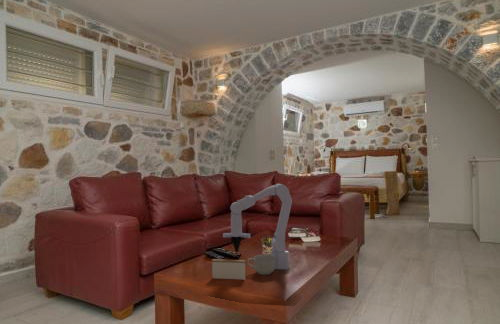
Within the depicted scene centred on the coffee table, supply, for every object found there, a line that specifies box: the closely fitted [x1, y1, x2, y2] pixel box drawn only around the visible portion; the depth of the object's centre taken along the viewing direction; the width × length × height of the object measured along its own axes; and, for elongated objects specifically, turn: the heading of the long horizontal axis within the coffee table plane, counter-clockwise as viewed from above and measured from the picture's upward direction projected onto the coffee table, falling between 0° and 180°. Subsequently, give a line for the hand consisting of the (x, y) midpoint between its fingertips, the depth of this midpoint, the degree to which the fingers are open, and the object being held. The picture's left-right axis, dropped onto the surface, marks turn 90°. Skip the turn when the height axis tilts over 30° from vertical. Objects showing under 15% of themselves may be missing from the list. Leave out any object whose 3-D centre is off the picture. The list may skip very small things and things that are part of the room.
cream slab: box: [211, 258, 247, 280], centre depth 160 cm, size 16×2×9 cm, turn 79°
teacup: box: [246, 253, 276, 276], centre depth 168 cm, size 14×11×8 cm
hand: (236, 251), depth 174 cm, fingers closed
